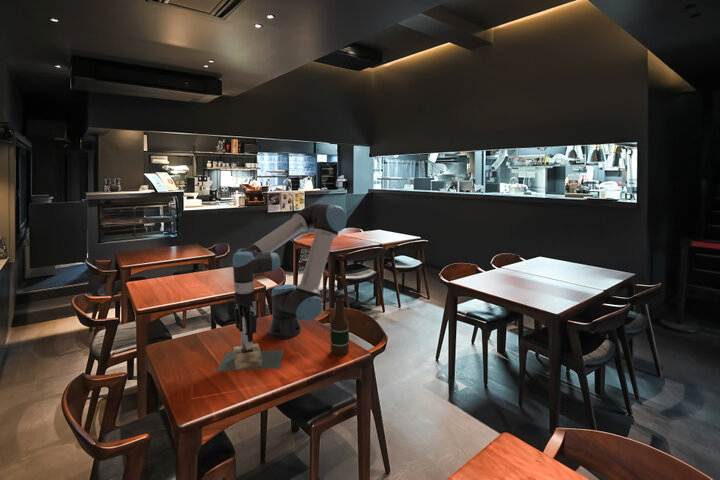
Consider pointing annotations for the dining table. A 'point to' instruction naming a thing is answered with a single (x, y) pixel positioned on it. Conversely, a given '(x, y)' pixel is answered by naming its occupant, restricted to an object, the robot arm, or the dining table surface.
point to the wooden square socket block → (247, 357)
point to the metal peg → (244, 335)
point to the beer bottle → (339, 330)
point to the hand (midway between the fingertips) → (246, 347)
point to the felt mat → (268, 362)
